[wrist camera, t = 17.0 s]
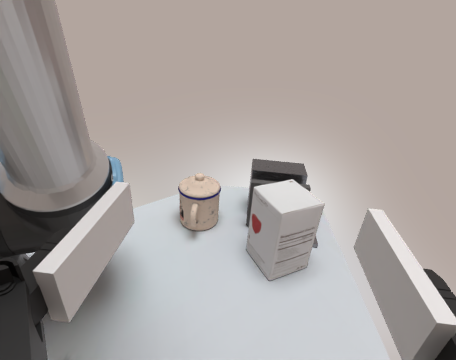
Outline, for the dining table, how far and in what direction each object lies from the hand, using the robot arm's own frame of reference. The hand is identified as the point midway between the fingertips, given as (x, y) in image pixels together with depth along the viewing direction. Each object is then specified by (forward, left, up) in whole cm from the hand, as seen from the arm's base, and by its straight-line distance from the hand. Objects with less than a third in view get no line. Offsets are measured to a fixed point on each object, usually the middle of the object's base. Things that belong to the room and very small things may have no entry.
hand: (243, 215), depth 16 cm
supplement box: (+2, +30, -30) cm, 42 cm away
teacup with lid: (-16, +35, -30) cm, 49 cm away
